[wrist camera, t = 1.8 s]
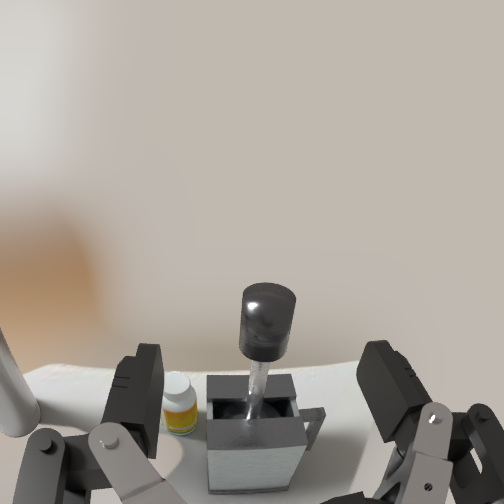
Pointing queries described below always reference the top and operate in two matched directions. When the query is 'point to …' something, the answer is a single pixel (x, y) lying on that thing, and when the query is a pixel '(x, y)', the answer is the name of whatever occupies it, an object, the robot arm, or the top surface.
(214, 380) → the grey box
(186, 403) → the supplement bottle
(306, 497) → the top surface
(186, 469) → the top surface
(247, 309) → the dark grey knob handle
